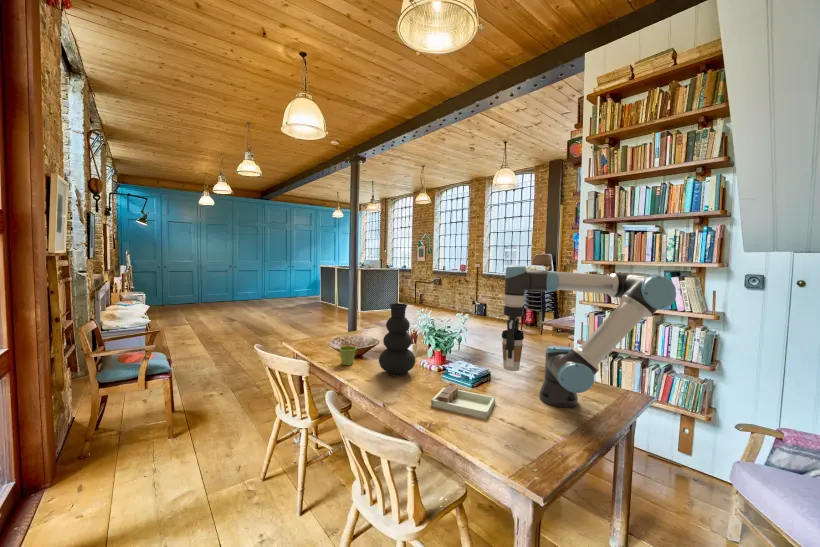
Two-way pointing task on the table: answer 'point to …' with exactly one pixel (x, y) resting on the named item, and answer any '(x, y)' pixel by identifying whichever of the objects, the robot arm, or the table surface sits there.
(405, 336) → the vase
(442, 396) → the walnut block
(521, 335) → the coffee cup
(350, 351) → the plant pot
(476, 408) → the tray
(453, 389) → the walnut block
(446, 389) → the walnut block
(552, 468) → the table surface
